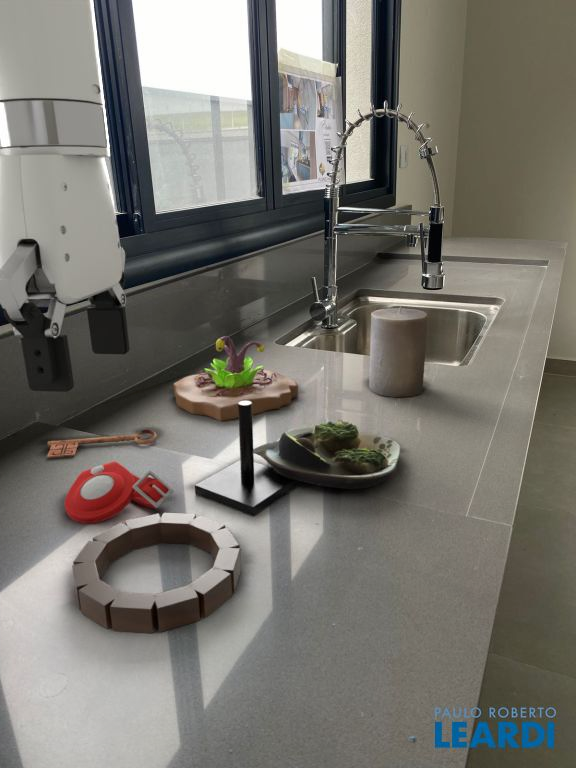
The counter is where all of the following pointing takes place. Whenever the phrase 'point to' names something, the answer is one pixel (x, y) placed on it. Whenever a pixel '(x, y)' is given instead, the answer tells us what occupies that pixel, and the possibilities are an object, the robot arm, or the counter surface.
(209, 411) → the plant
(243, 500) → the stand
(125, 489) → the tracker holder
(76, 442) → the key
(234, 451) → the counter surface
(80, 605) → the ring
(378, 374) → the pillar candle
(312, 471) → the salad plate
